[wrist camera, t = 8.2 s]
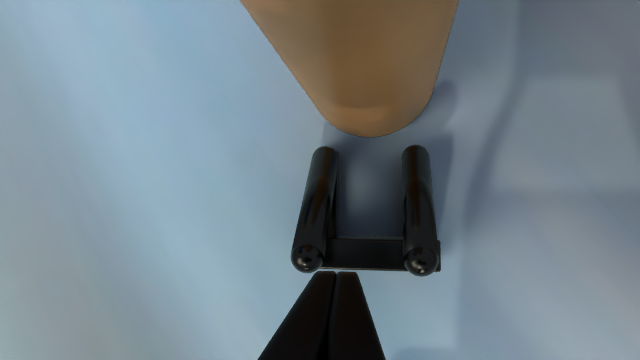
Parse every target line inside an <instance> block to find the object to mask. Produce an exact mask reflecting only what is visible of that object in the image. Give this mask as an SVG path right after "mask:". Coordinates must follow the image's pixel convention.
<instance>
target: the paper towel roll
mask: <svg viewBox="0 0 640 360" xmlns="http://www.w3.org/2000/svg"><path fill="white" fill-rule="evenodd" d="M240 2H241V3H242V4H243V6H244V7H245V9H246V10H247V11H248V13H249V14H250V16H251V17H252V18H253V20H254V21H255V23H256V24H257V25H258V27H259V28H260V30H261V31H262V32H263V34H264V35H265V37H266V38H267V39H268V41H269V42H270V44H271V45H272V46H273V48H274V49H275V51H276V52H277V53H278V55H279V56H280V57H281V59H282V60H283V62H284V63H285V64H286V66H287V67H288V69H289V70H290V71H291V73H292V74H293V76H294V77H295V78H296V80H297V81H298V83H299V84H300V85H301V87H302V88H303V90H304V91H305V92H306V94H307V95H308V97H309V98H310V99H311V101H312V102H313V104H314V105H315V106H316V108H317V109H318V111H319V112H320V113H321V115H322V116H323V117H324V118H325V119H326V120H327V121H328V122H329V123H331V124H332V125H333V126H335V127H336V128H338V129H339V130H342V131H344V132H346V133H349V134H352V135H356V136H361V137H377V136H383V135H388V134H390V133H393V132H396V131H398V130H400V129H402V128H404V127H405V126H407V125H408V124H410V123H411V122H412V121H413V120H414V119H416V118H417V117H418V116H419V114H420V113H421V112H422V111H423V110H424V108H425V107H426V105H427V104H428V102H429V100H430V98H431V95H432V92H433V89H434V86H435V82H436V79H437V75H438V72H439V69H440V65H441V62H442V58H443V55H444V51H445V48H446V44H447V41H448V37H449V34H450V30H451V27H452V23H453V20H454V16H455V13H456V9H457V6H458V2H459V0H240Z"/></svg>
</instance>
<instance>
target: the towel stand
mask: <svg viewBox="0 0 640 360" xmlns="http://www.w3.org/2000/svg"><path fill="white" fill-rule="evenodd" d="M401 161H402V215H403V236H360V235H338V208H339V153H338V152H337V151H335V150H334V149H333V148H331V147H328V146H322V147H320V148H318V149H317V150H316V151H315V152H314V154H313V156H312V161H311V165H310V170H309V174H308V179H307V183H306V188H305V192H304V197H303V201H302V206H301V210H300V215H299V219H298V224H297V228H296V233H295V237H294V242H293V246H292V251H291V261H292V264H293V266H294V267H295V268H296V269H297V270H298V271H300V272H303V273H312V272H314V271H316V270H318V269H342V270H378V271H409V272H410V273H412V274H413V275H416V276H421V277H422V276H428V275H430V274H431V273H433V272H440V270H441V249H440V241H439V240H437V234H436V223H435V212H434V202H433V191H432V180H431V170H430V159H429V154H428V152H427V150H426V149H425V148H424V147H422V146H420V145H411V146H409V147H407V148H406V149H405V150H404V151H403V153H402V158H401Z"/></svg>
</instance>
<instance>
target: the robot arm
mask: <svg viewBox="0 0 640 360" xmlns="http://www.w3.org/2000/svg"><path fill="white" fill-rule="evenodd" d="M258 360H386V359H385V356H384V353H383V350H382V347H381V344H380V341H379V338H378V335H377V332H376V329H375V326H374V323H373V319H372V316H371V313H370V310H369V307H368V304H367V301H366V298H365V295H364V292H363V289H362V286H361V283H360V280H359V277H358V274H357V273H356V272H338V273H337V274H336V272H334V271H317V272H316V273H315V274H314V275H313V277H312V278H311V280H310V281H309V283H308V284H307V286H306V287H305V289H304V290H303V292H302V293H301V295H300V296H299V298H298V299H297V301H296V302H295V304H294V305H293V307H292V308H291V310H290V311H289V313H288V314H287V316H286V317H285V319H284V320H283V322H282V323H281V325H280V326H279V328H278V329H277V331H276V332H275V334H274V335H273V337H272V338H271V340H270V341H269V343H268V344H267V346H266V347H265V349H264V351H263V352H262V354H261V355H260V357H259V358H258Z"/></svg>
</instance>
